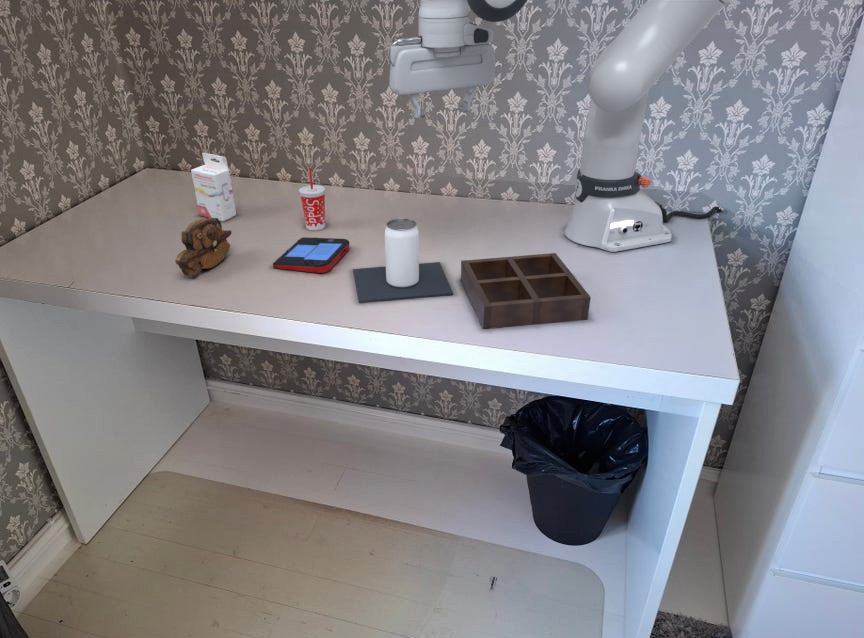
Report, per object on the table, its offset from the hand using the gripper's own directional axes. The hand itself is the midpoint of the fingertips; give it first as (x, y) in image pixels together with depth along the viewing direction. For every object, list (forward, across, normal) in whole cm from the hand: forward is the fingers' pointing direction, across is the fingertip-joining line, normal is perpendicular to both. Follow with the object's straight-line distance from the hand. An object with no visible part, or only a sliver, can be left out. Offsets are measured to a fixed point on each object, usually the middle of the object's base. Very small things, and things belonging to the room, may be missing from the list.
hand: (442, 114), depth 128 cm
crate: (+29, +5, -24) cm, 38 cm away
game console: (+29, -25, +11) cm, 40 cm away
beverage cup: (+29, -19, +28) cm, 45 cm away
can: (+29, -12, -8) cm, 32 cm away
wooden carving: (+29, -46, +16) cm, 57 cm away
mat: (+29, -12, -8) cm, 33 cm away
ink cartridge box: (+29, -40, +46) cm, 67 cm away
